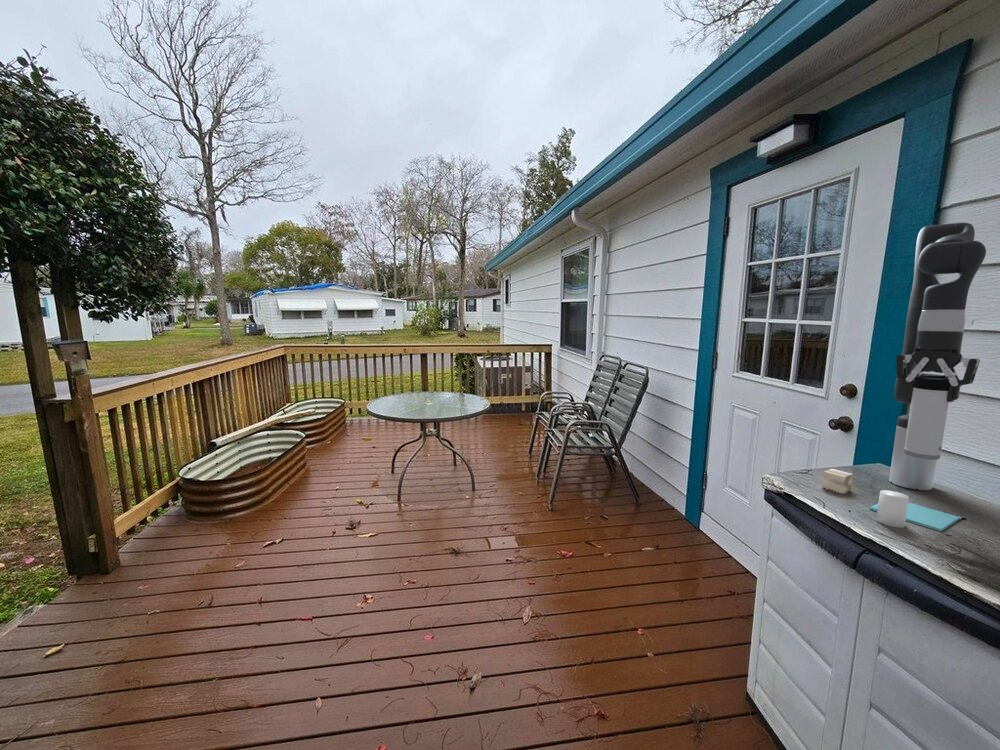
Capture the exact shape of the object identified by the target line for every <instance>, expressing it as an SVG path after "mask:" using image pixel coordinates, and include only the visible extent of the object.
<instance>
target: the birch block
mask: <svg viewBox="0 0 1000 750" xmlns="http://www.w3.org/2000/svg"><path fill="white" fill-rule="evenodd" d="M853 477H854V475H853V473H850V472H846V471H842V470H839V469H835V468H830V469H827V470H824V471H823V476H822V483H821V488H822V489H824V488H826V489H825V490H828V489H830V490H829V491H831V490H833V491H832V492H834V491H836V492H835V493H838V492H839V493H838V494H841V493H842V494H841V495H844V494H846V493H849V492H851V491H852V485H853V484H852V483H853ZM848 491H849V492H848ZM843 493H844V494H843Z"/></svg>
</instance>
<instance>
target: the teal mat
mask: <svg viewBox="0 0 1000 750" xmlns="http://www.w3.org/2000/svg"><path fill="white" fill-rule="evenodd" d="M869 510H870V511H873V512H876V513H877V511H878V503H876V504H873V505H872V506H869ZM960 518H961V517H960V516H957V515H954V514H951V513H947V512H943V511H939V510H936V509H933V508H930V507H925V506H922V505H918V504H916V503H912V502H908V508H907V515H906V522H909V523H912V524H915V525H919V526H922V527H926V528H929V529H931V530H935V531H936V532H940V533H941V532H943V531H944V530H946V529H947V528H949V527H950V526H952V525H953V524H955V523H956V522H958V521H959V520H960Z"/></svg>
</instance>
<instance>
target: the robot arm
mask: <svg viewBox="0 0 1000 750" xmlns="http://www.w3.org/2000/svg"><path fill="white" fill-rule="evenodd" d="M975 235H976V234H975V227H974V226H973V224H972V223H969V222H954V223H953V222H952V223H942V224H931V225H926V226H923V227H922V228H921V229H920V230H919V232H918V234H917V239H916V245H915V253H914V254H915V256H914V269H913V281H912V287H911V288H912V289H911V293H910V297H909V302H908V308H907V312H906V313H907V314H906V319H905V320H906V321H905V330H904V338H903V339H904V340H903V346H902V347H903V348H902V352H901V354H897V355H896V357H895V358H896V359H895V360H896V380H895V384H894V392H893V394H894V399H895V401H896V402H897V403H901V404H909V405H911V400H912V393H913V390H914V389H913V387H914V385H915V383H914V381H915V377H919V376H943V374H944V375H945V376H946V377H947V378H948V379H949V382H950V384H951V386H949V391H948V398H947V402H949V403H954V402H955V401H957V400H958V399H959V396H960V392H961V387H962V386H965V385H970V384H971V385H972V384H973V383H974V380H975V377H976V374H977V371H978V368H979V365H980V363H981V360H980V359H979V358H976V357H975V358H969V357H963V355H962V353H961V351H962V344H963V339H964V338H963V337H964V331H965V325H966V307H967V299H968V296H969V290H970V288H971V284H972V282H973V280H974V278H975V276H976V274H977V273H978V271H979V269H980V267H981V265H982V264H983V262H984V261H985V258H986V254H987V249H986V246H985V245H984V244H983V243H982V242H980V241H978V240H975ZM947 274H951V275H952V274H958V276H957V277H956V278H955V279H954V280H952V281H949V282H945V283H940V282H939V280H938V279H937V278H936V277H937V276H935V275H947ZM961 362H962V363H963V367H964V368H966V369H965V372H964V374H963V378H962V379H960V377H959V376H958V372H957V371H956V369H955V367H956V366H957V365H959V364H960V363H961ZM929 372H933V373H929ZM934 373H939V374H934ZM908 420H909V414H903V415H900V416H898V417H897V420H896V429H895V433H894V434H895V435H894V443H893V451H892V457H891V464H890V471H889V479H888V480H889V482H890V483H891V482H892V484H893V485H896V486H899V487H902V488H907V489H911V490H916V489H918V490H917V491H932V490H933V486H934V481H935V475H936V474H935V473H936V467H937V461H938V460H928V459H921V458H916V457H912V456H909V455H906V454H905V453H904V448H905V441H906V434H907V427H908ZM931 489H932V490H931Z"/></svg>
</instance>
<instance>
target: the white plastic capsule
mask: <svg viewBox="0 0 1000 750" xmlns="http://www.w3.org/2000/svg"><path fill="white" fill-rule="evenodd" d="M878 496H879V497H878V502H877V504H878V511H877V512H876V521H877V522H878V523H880V524H883V525H885V526H889V527H893V528H898V529H899V528H900V529H901V528H902V529H903V528H905V526H906V522H907V521H906V515H907V508H908V503H909V499H910V497H909V495H907V494H904V493H902V492H897V491H893V490H888V489H887V490H886V489H882V490H880V491H879V495H878Z"/></svg>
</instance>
